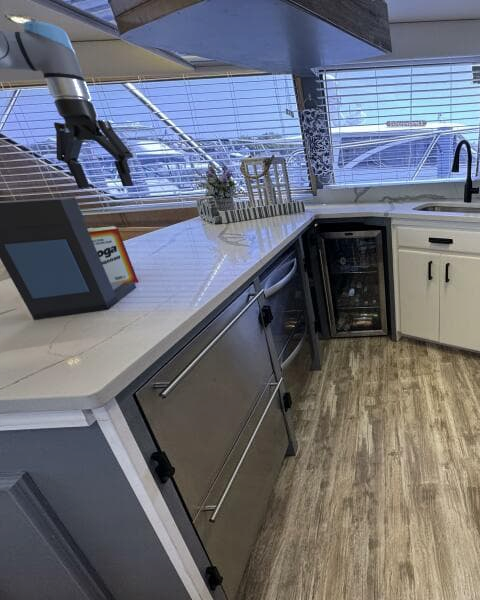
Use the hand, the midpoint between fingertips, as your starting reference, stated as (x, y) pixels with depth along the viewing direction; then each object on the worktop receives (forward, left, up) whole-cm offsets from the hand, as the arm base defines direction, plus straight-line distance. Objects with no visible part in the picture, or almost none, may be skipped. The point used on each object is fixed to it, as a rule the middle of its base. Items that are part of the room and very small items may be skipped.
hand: (106, 187), depth 91 cm
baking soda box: (-3, -9, -26) cm, 28 cm away
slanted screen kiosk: (-3, -23, -26) cm, 35 cm away
